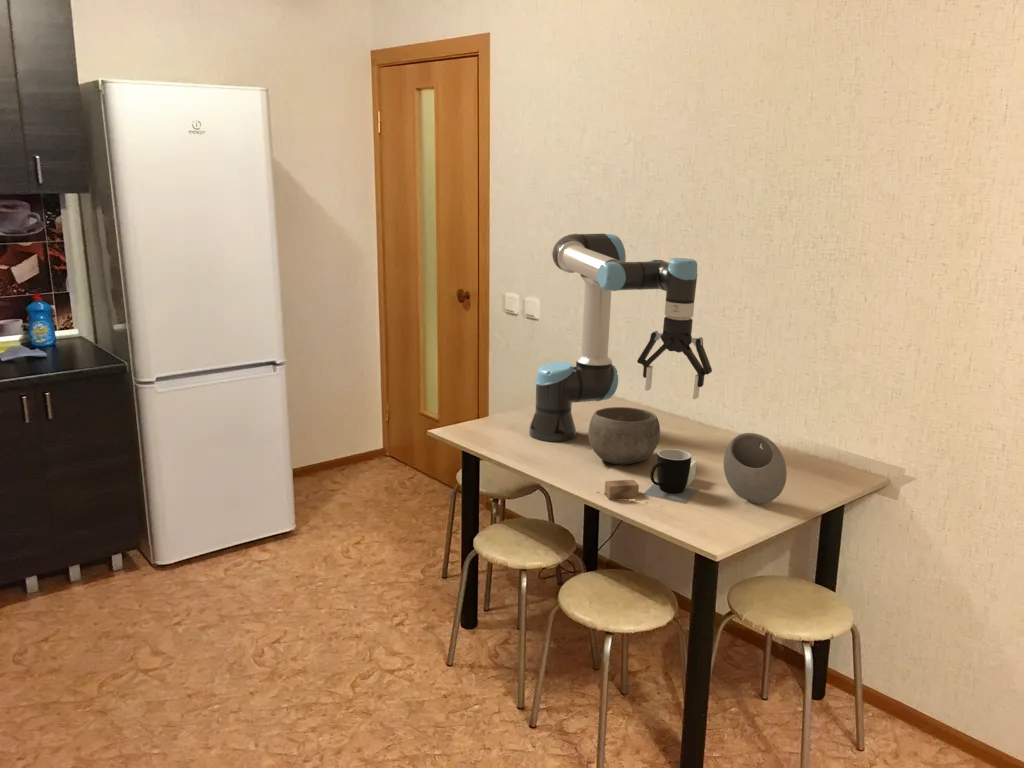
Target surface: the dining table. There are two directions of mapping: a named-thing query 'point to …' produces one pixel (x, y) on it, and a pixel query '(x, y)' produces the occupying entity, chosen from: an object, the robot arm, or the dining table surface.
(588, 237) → the robot arm
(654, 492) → the coaster mat
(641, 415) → the bowl
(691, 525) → the dining table surface
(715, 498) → the dining table surface
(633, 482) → the walnut block
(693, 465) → the tub
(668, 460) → the mug
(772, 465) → the planter
